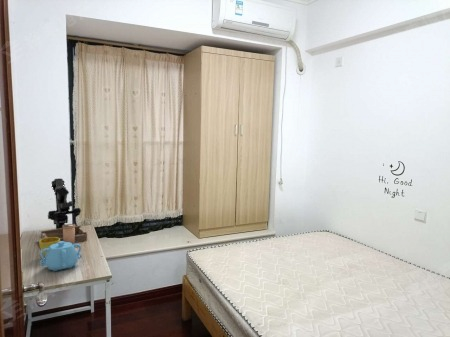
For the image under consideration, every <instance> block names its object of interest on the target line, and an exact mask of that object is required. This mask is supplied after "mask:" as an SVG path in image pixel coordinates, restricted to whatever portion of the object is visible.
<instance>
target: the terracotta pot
mask: <svg viewBox="0 0 450 337" xmlns="http://www.w3.org/2000/svg"><path fill="white" fill-rule="evenodd" d="M75 226H76V223H75V224H74V223H65V225H63V226H62V228H63V237H62V238H63V241H64V242H70V243H72V244H75Z"/></svg>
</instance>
